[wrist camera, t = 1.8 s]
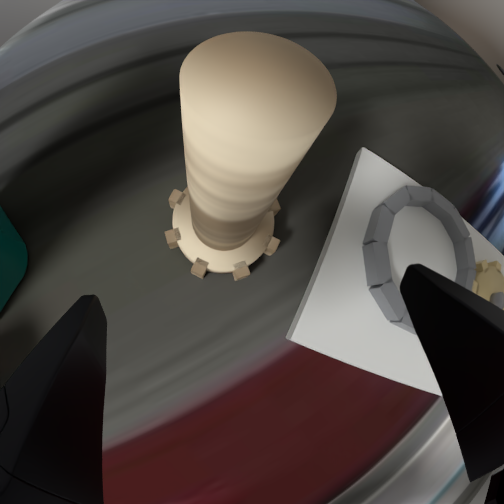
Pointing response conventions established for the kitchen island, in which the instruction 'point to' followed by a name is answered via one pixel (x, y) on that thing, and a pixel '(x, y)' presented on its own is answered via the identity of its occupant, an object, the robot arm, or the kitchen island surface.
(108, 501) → the kitchen island surface
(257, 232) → the disc
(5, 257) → the pitcher
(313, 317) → the gear board
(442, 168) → the kitchen island surface
